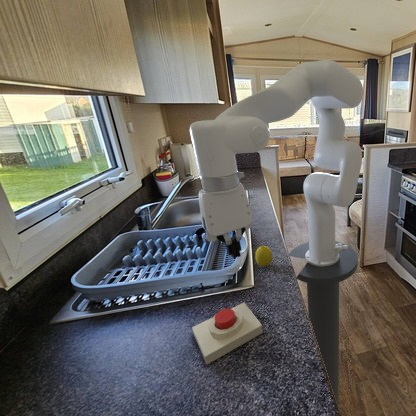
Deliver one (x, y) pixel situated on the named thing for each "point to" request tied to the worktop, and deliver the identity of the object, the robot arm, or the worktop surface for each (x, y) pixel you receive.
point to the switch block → (226, 334)
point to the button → (225, 319)
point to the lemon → (263, 256)
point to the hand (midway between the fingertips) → (235, 255)
